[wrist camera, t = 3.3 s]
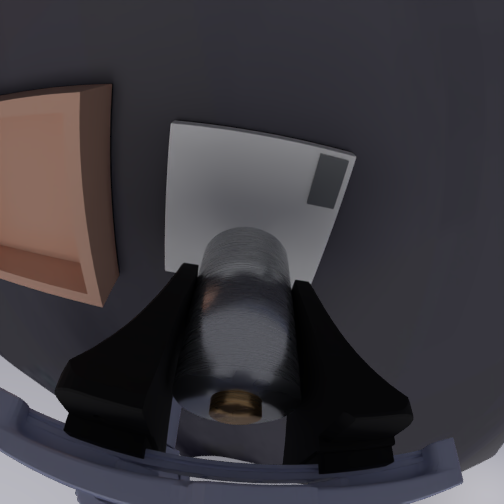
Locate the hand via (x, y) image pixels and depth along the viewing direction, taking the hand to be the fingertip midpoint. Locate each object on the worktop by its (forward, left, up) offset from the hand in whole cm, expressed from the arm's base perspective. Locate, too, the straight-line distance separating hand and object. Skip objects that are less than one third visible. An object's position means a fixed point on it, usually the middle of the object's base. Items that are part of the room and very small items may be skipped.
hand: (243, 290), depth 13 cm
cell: (0, 0, -2) cm, 2 cm away
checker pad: (0, 0, -7) cm, 7 cm away
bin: (0, +16, -7) cm, 17 cm away
